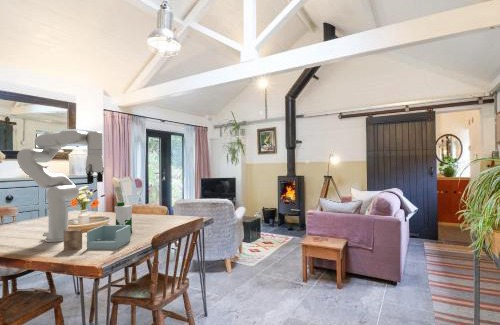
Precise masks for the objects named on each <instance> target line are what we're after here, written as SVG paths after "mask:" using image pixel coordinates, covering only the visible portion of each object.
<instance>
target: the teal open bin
mask: <svg viewBox="0 0 500 325" xmlns="http://www.w3.org/2000/svg"><path fill="white" fill-rule="evenodd" d="M131 234H132V233H131V225H116V224H115V225H113V224H105V225H104V224H103V225H100V226H98V227H96V228H92V229H90V230H87V231H86V249H87V250H117V249H119V248H121V247H123V246H124V245H126V244H127V243H130V242H131Z"/></svg>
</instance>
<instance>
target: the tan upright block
mask: <svg viewBox="0 0 500 325" xmlns="http://www.w3.org/2000/svg"><path fill="white" fill-rule="evenodd" d="M82 249H83V229H71V228H70V229H69V228H68V229H67V230H64V241H63V251H80V250H82Z"/></svg>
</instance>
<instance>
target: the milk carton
mask: <svg viewBox="0 0 500 325" xmlns="http://www.w3.org/2000/svg"><path fill="white" fill-rule="evenodd" d="M133 206H134V205H133V204H132V205H131V204H130V205H129V204H125V202H121V201H120V202H119V201H118V202H117V204H116V205H115V206H114V213H115V225H131V234H133V219H132V218H133V213H132V212H133V208H134V207H133Z"/></svg>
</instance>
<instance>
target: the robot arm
mask: <svg viewBox="0 0 500 325" xmlns="http://www.w3.org/2000/svg"><path fill="white" fill-rule="evenodd" d="M34 143H35V146H37V147H38V148H32V147H30V148H23V149H21V150H19V151H18V152H17V155H16V160H17V164H18V167H20V169H21V170H22V171H24V172H25V173H26V174H27V175H28V176H29V177H30V178H31V179H32V180H33V181H34V182H35V184H37V186H39V187H40V188H41V189H43V190H47V191H46V194H45V195H46V200H47V201H46V202H47V205H48V209H47V211H48V213H47V214H48V221H47V222H48V223H47V224H48V232H46V231H45V232H43V233H42V237H46V238H45V239H44V241H45V242H46V243H60V242H64V230H67V229H69V206H68V204H67V202H66V201H73V200H75V199H77V198H78V197H79V194H80V190H79V188H78V187H77V186H76V184H75V183H74V182H73V181H72V180H71V179H70V178H69V177H68V176H67V175H65V174H63V173H60V172H56V173H55V172H50V171H49V170H47V169H46V167H45V166H43V165H41V164H40V163H48V162H50V161H51V160H53V158H54V157H55V156H56V155H57V154H58V153H59V151H60V150H61V149H62V148H64V147H66V146H67V145H72V144H73V145H74V144H75V145H81V146H83V145H84V146H87V148H86V149H87V151H86V152H87V155H86V160H85V161H86V163H85V169H84V170H85V173H86V178H87V179H86V181H87V184H94V180H95V179H94V173H96V182H97V183H103V181H104V177H103V176H104V170H105V168H104V163H103V133H102V132H101V131H97V130H96V131H95V130H94V131H93V130H92V131H91V130H90V131H88V132H87V131H83V130H82V131H81V130H75V129H73V130H63V131H60V132H55V133H44V134H40V135H38V136H36V137H35V139H34Z"/></svg>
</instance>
